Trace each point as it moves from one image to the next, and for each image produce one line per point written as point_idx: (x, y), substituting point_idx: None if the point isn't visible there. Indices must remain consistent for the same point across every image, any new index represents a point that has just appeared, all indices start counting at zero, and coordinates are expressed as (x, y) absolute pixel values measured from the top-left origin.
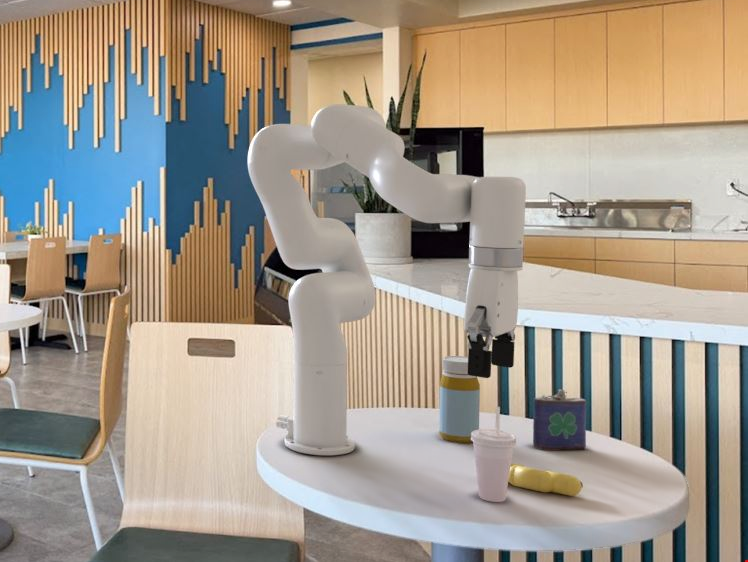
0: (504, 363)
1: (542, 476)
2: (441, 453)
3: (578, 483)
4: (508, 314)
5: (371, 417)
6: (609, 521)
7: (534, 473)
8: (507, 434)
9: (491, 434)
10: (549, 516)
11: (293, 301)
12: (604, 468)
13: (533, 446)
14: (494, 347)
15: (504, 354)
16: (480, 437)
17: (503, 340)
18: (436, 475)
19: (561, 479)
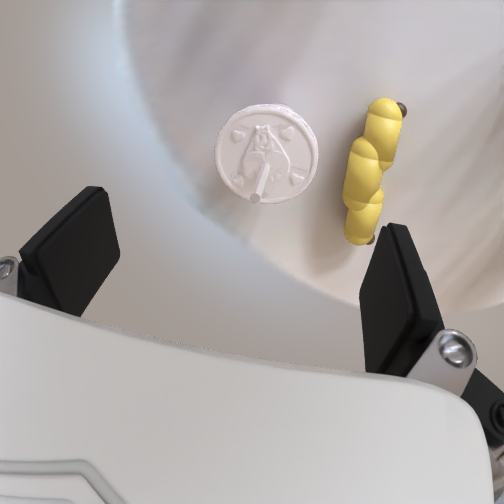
0: (367, 280)
1: (349, 199)
2: (474, 16)
3: (352, 243)
4: None
5: None
6: (278, 266)
7: (353, 187)
8: (293, 183)
9: (255, 156)
10: (249, 207)
11: None
12: (492, 250)
13: None
14: (398, 293)
15: (374, 310)
16: (219, 139)
17: (392, 366)
18: (342, 16)
19: (351, 224)
